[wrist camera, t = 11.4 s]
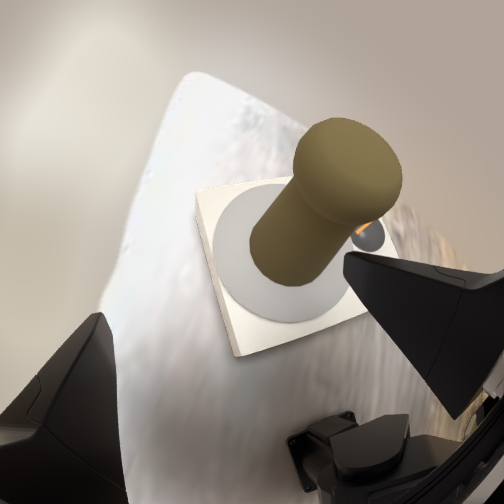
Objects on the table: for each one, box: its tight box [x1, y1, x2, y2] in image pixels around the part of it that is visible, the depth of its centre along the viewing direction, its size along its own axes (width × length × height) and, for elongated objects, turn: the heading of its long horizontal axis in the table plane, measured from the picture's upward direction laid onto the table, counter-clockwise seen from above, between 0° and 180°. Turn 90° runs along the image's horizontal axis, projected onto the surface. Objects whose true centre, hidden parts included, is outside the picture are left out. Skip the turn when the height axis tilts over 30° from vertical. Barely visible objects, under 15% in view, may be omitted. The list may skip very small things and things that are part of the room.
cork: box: [249, 118, 402, 287], centre depth 15 cm, size 6×6×11 cm
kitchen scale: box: [195, 176, 399, 357], centre depth 23 cm, size 13×16×5 cm
